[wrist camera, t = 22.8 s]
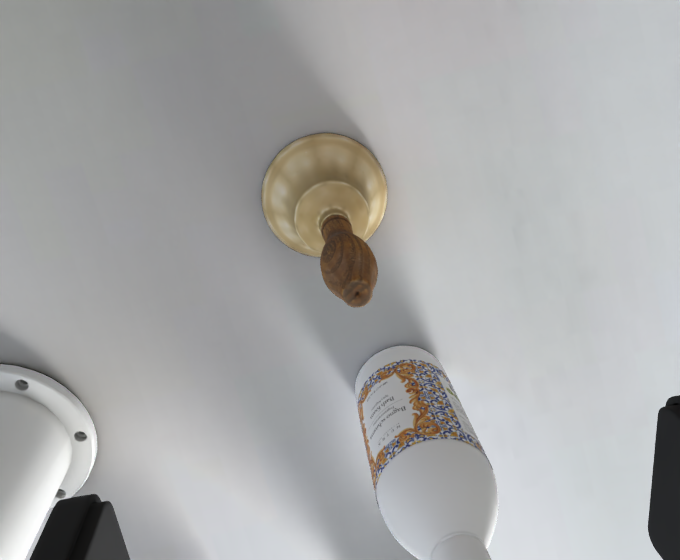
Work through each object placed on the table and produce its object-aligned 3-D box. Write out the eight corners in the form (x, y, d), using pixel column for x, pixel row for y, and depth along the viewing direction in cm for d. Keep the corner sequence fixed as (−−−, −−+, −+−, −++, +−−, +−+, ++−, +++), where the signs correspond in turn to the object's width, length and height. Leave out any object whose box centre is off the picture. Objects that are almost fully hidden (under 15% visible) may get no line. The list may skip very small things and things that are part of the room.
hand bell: (397, 141, 39) (468, 206, 25) (376, 262, 42) (428, 384, 27) (268, 124, 38) (261, 182, 23) (255, 249, 41) (243, 370, 26)
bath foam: (401, 324, 44) (488, 532, 26) (462, 379, 46) (583, 607, 28) (334, 386, 46) (371, 625, 27) (397, 436, 48) (471, 689, 29)
